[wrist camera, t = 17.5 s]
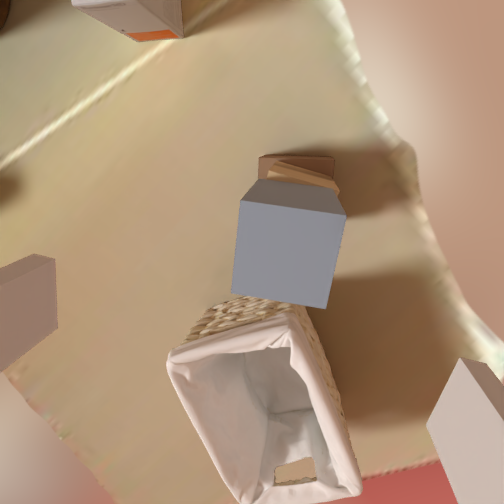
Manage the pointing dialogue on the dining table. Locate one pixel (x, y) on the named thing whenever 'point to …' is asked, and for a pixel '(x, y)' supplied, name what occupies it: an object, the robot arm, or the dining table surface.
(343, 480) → the storage basket
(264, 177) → the base block
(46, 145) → the dining table surface
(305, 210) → the blue block
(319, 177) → the oak block
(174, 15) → the skincare box
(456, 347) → the dining table surface
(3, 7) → the wooden container
